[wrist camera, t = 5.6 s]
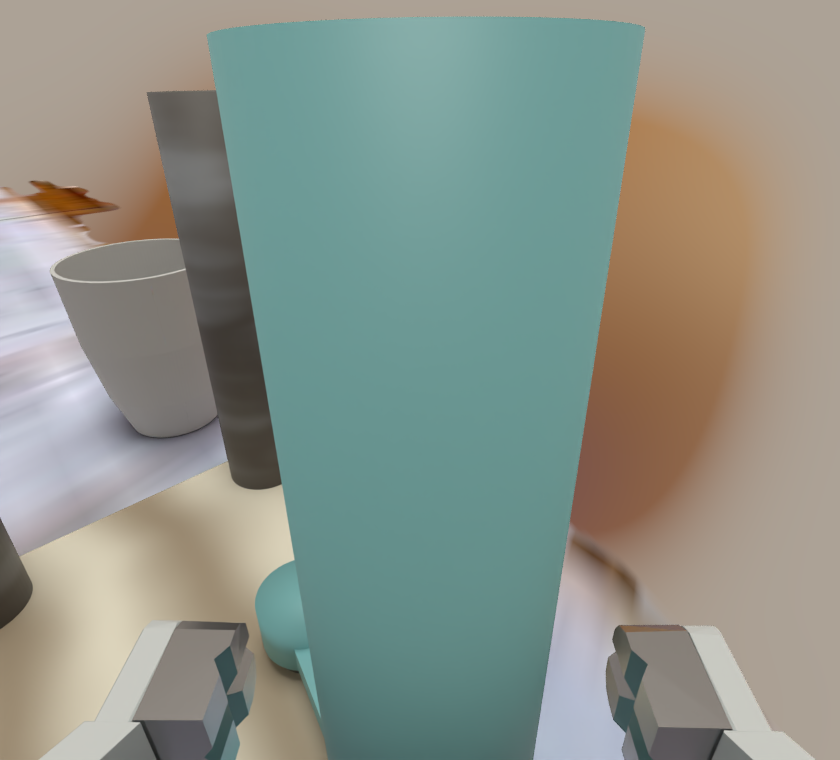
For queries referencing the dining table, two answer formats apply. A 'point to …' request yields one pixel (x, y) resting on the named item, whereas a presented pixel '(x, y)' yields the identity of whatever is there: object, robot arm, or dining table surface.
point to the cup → (140, 332)
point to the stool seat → (167, 509)
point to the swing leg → (425, 350)
